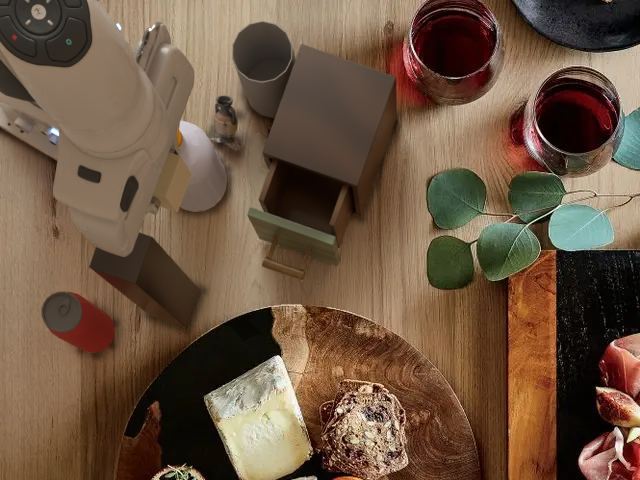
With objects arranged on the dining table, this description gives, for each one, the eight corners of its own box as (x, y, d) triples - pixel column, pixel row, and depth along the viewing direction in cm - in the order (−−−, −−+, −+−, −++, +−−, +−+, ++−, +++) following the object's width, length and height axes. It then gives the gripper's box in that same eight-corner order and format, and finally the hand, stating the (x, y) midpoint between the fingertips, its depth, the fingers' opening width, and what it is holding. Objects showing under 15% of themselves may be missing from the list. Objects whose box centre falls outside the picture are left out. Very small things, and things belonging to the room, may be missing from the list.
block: (139, 199, 90) (125, 182, 85) (153, 160, 90) (140, 141, 85) (177, 213, 89) (165, 197, 85) (192, 174, 89) (180, 156, 85)
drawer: (327, 298, 121) (320, 279, 111) (248, 270, 121) (234, 248, 111) (371, 174, 121) (368, 144, 111) (292, 146, 121) (282, 113, 111)
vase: (220, 106, 122) (211, 85, 116) (254, 120, 122) (246, 100, 116) (206, 139, 122) (196, 120, 116) (239, 153, 122) (231, 135, 116)
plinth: (149, 315, 122) (88, 267, 98) (163, 277, 122) (105, 220, 98) (187, 329, 122) (135, 283, 98) (201, 291, 122) (152, 236, 98)
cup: (300, 118, 122) (291, 82, 112) (245, 117, 122) (231, 82, 112) (301, 61, 122) (292, 20, 112) (246, 61, 122) (232, 20, 112)
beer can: (123, 320, 122) (93, 299, 110) (105, 361, 122) (73, 344, 110) (84, 302, 122) (49, 279, 110) (65, 342, 123) (29, 323, 111)
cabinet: (361, 217, 122) (357, 186, 110) (275, 187, 122) (262, 152, 110) (396, 118, 122) (396, 76, 110) (310, 88, 122) (301, 43, 110)
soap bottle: (230, 155, 122) (187, 64, 98) (224, 215, 122) (179, 141, 98) (170, 149, 122) (112, 58, 98) (164, 210, 122) (104, 134, 98)
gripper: (123, -1, 74) (167, 80, 88) (45, 211, 74) (101, 259, 88) (188, 22, 74) (222, 100, 88) (110, 235, 74) (156, 279, 88)
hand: (161, 181), depth 88 cm, fingers closed on block, 4 cm apart
